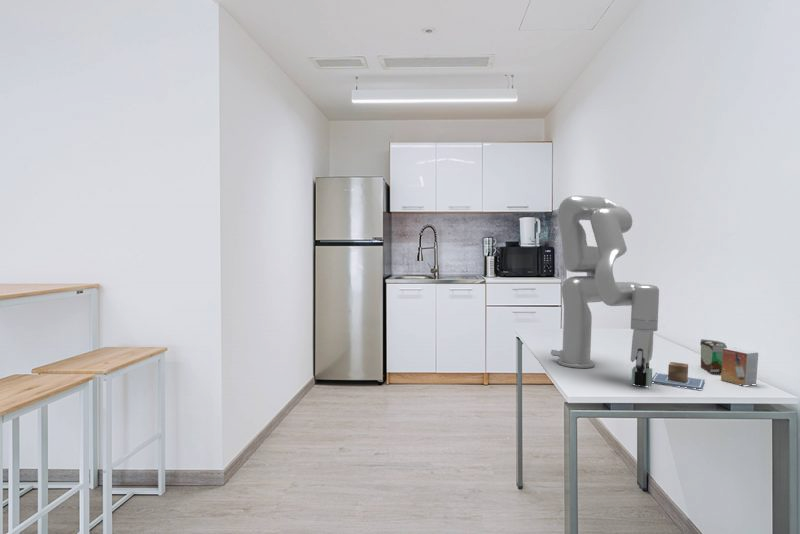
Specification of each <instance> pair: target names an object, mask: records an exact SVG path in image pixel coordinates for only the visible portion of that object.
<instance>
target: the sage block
mask: <svg viewBox="0 0 800 534" xmlns="http://www.w3.org/2000/svg"><path fill="white" fill-rule="evenodd" d="M635 367H636V365H635V366H634V367H633V368H632V369H631V383H630V385H631V384H634V380H635ZM645 373H646V386H648V387H649V386H650V385H651V384H653V383H652V378H653V368H652V367H649V368H646V372H645ZM651 386H652V385H651ZM651 386H650V387H651Z"/></svg>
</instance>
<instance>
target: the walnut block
mask: <svg viewBox="0 0 800 534" xmlns="http://www.w3.org/2000/svg"><path fill="white" fill-rule="evenodd" d="M667 371H668V373H667V374H668V381H675V382H682V383H686V382H687V380H688V377H689V363H683V362H676V361H675V362H674V361H670V362H669V364H668V370H667Z"/></svg>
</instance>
